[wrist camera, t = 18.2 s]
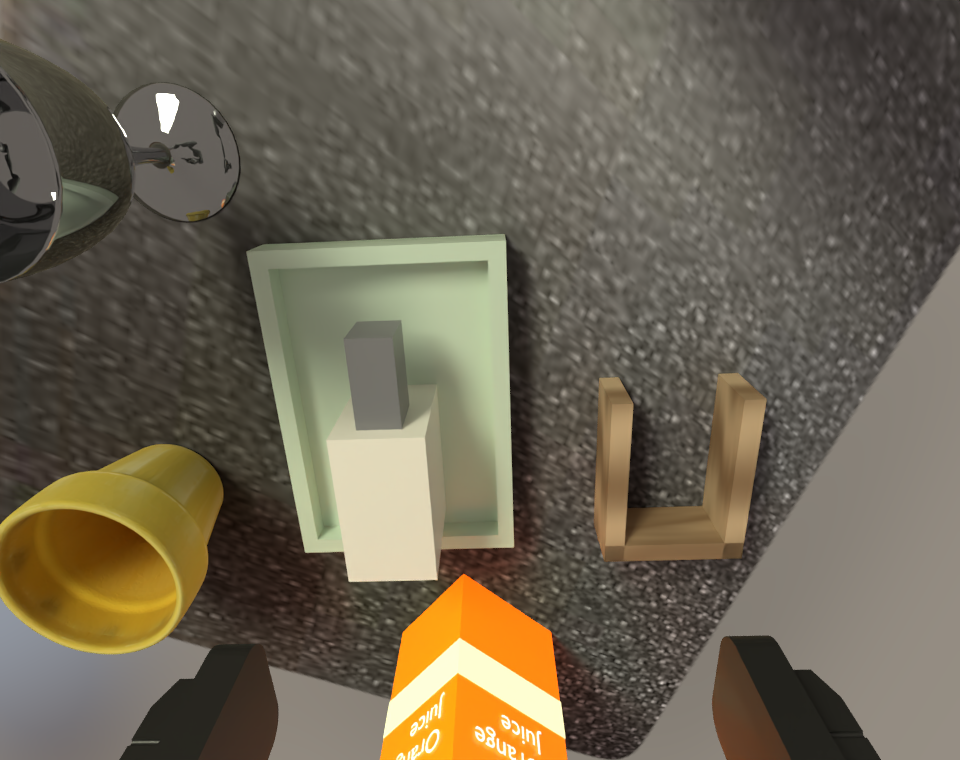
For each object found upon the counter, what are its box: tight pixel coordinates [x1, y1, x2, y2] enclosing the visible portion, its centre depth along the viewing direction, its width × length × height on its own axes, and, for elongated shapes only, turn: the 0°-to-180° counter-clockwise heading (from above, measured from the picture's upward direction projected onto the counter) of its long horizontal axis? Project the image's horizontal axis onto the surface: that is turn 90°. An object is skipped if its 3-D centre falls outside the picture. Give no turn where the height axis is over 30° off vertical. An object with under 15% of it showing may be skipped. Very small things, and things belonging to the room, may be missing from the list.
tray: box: [246, 234, 514, 553], centre depth 35 cm, size 20×14×2 cm
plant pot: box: [0, 444, 224, 654], centre depth 35 cm, size 10×10×10 cm
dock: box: [594, 373, 767, 562], centre depth 36 cm, size 11×9×4 cm
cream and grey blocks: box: [326, 320, 446, 582], centre depth 33 cm, size 14×5×7 cm, turn 2°
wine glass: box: [0, 39, 240, 283], centre depth 24 cm, size 8×8×15 cm
